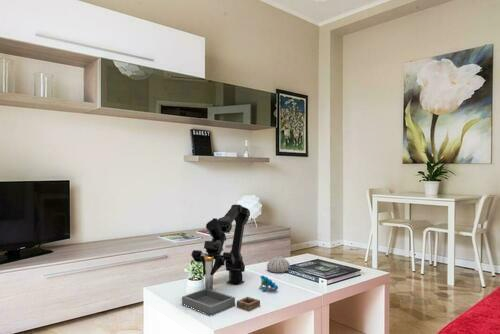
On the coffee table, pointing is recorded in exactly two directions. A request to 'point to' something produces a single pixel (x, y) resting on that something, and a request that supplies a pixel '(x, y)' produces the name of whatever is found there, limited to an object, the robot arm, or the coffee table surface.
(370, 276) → the coffee table surface
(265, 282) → the blue irregular piece
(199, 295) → the tray
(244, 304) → the socket block
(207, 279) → the grey tall cylinder
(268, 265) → the sea urchin shell
